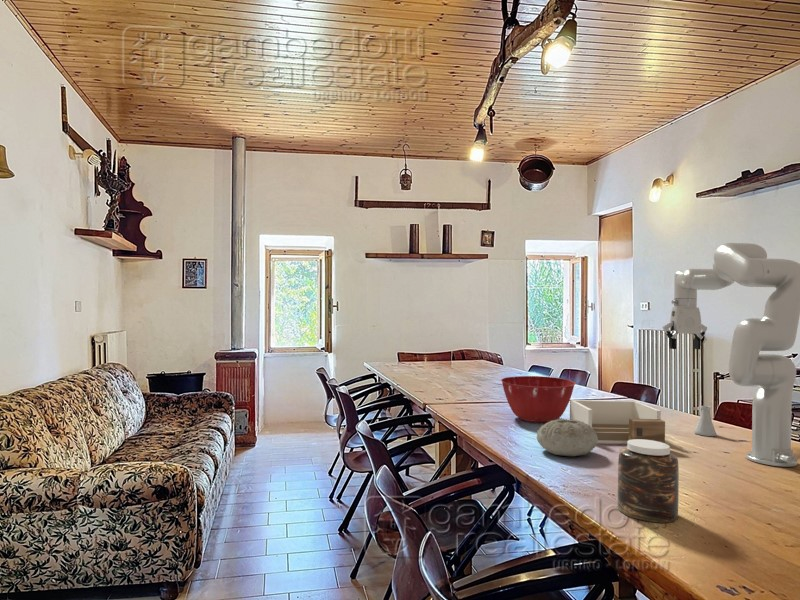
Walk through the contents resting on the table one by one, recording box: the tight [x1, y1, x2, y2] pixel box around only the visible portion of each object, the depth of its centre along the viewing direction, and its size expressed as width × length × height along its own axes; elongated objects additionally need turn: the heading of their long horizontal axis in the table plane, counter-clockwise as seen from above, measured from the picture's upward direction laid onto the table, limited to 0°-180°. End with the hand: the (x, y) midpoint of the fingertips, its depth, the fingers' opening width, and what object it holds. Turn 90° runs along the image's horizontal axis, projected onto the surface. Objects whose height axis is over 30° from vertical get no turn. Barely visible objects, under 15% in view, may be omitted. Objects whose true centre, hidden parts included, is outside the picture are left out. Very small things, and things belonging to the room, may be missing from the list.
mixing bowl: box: [500, 375, 576, 424], centre depth 212 cm, size 28×28×16 cm
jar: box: [617, 439, 680, 524], centre depth 117 cm, size 12×12×15 cm
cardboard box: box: [629, 419, 666, 444], centre depth 171 cm, size 4×10×9 cm, turn 91°
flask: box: [693, 405, 718, 437], centre depth 192 cm, size 7×7×10 cm
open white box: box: [569, 399, 662, 445], centre depth 185 cm, size 18×24×11 cm
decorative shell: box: [536, 418, 599, 457], centre depth 164 cm, size 18×18×10 cm
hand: (684, 349), depth 201 cm, fingers open, 9 cm apart
